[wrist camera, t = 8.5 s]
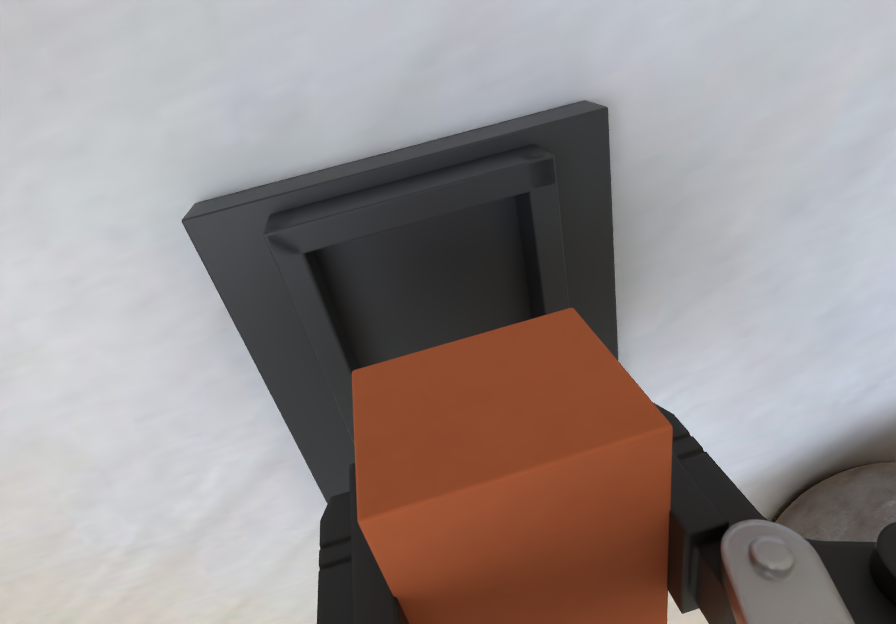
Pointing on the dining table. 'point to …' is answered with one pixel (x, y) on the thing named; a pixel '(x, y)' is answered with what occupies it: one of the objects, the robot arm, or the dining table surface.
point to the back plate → (411, 260)
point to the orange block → (515, 480)
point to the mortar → (846, 505)
